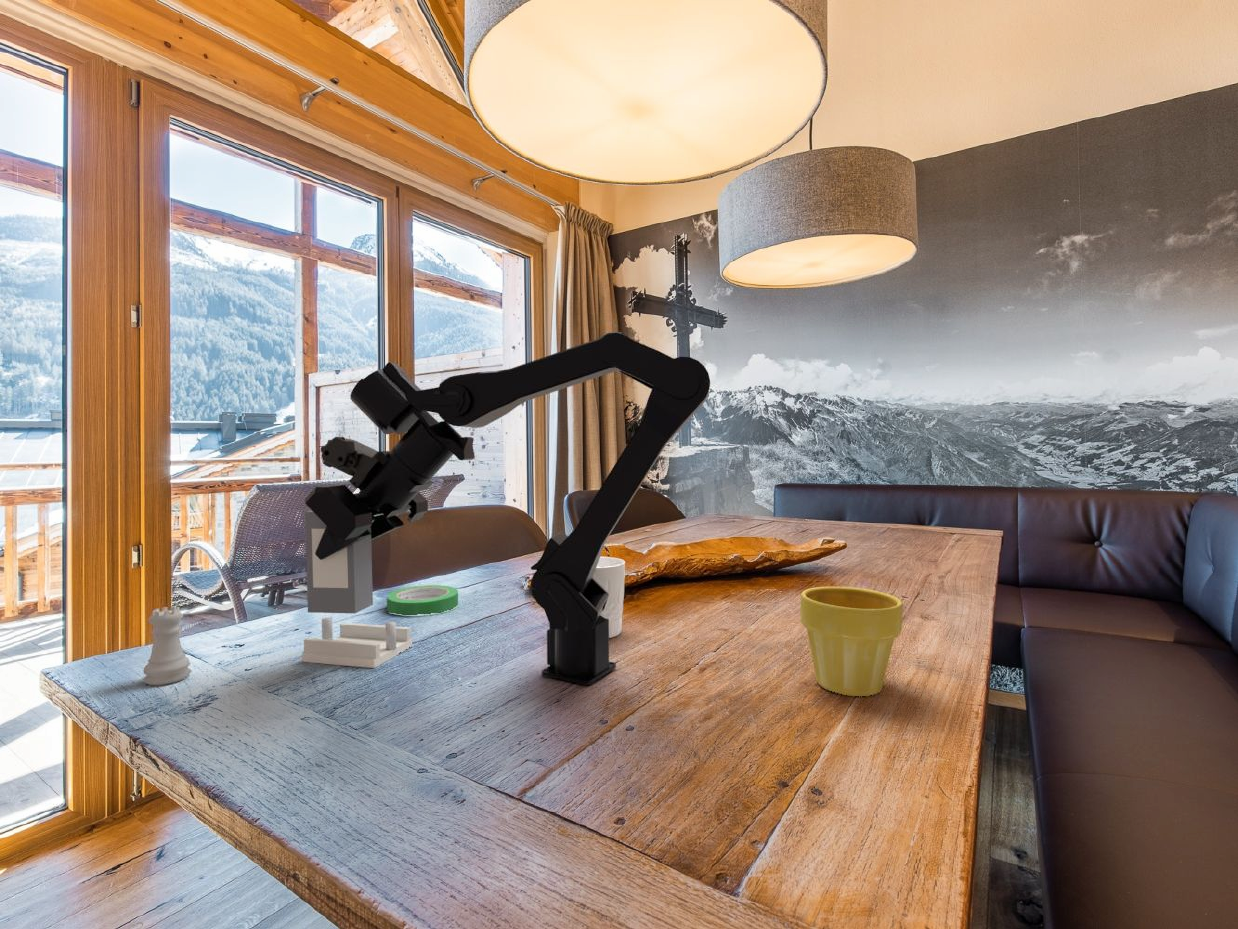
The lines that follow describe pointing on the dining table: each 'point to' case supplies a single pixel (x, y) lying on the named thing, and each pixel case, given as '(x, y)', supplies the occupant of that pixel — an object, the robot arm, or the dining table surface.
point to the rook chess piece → (166, 649)
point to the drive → (337, 573)
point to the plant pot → (850, 636)
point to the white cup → (612, 590)
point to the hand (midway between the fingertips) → (329, 553)
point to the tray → (357, 644)
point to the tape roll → (422, 600)
